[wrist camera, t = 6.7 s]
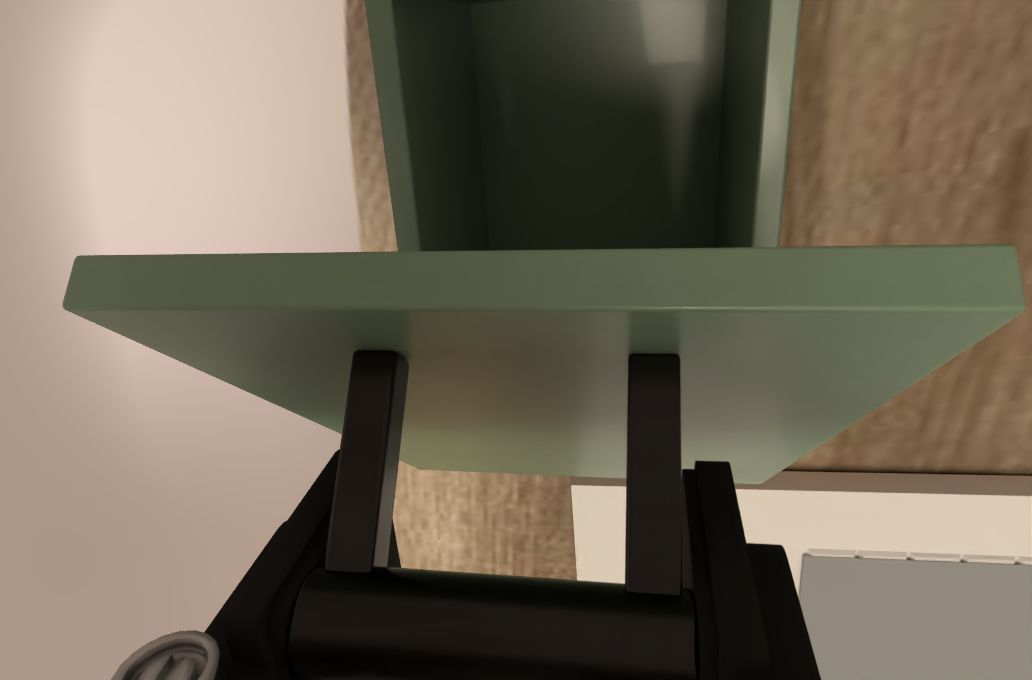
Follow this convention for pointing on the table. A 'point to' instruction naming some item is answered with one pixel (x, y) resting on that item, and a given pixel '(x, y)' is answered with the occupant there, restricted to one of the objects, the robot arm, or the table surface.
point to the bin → (585, 121)
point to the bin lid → (547, 409)
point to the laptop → (876, 566)
